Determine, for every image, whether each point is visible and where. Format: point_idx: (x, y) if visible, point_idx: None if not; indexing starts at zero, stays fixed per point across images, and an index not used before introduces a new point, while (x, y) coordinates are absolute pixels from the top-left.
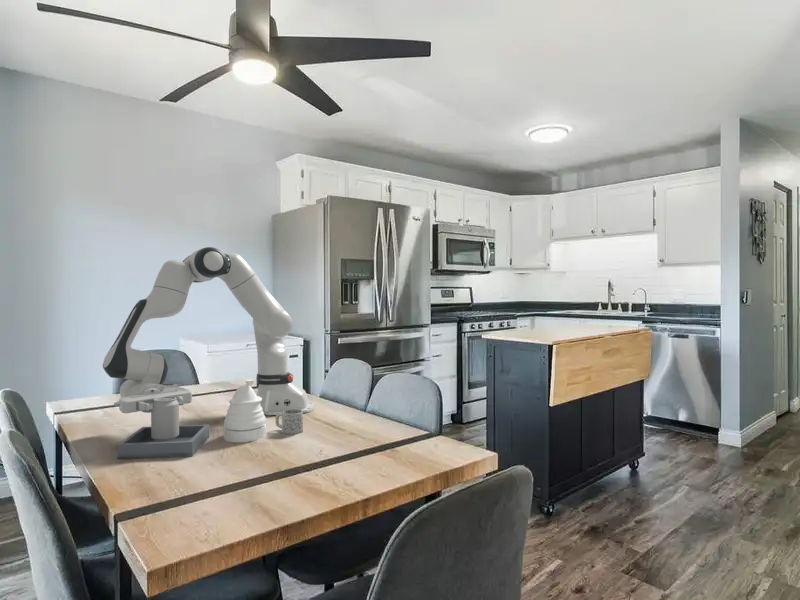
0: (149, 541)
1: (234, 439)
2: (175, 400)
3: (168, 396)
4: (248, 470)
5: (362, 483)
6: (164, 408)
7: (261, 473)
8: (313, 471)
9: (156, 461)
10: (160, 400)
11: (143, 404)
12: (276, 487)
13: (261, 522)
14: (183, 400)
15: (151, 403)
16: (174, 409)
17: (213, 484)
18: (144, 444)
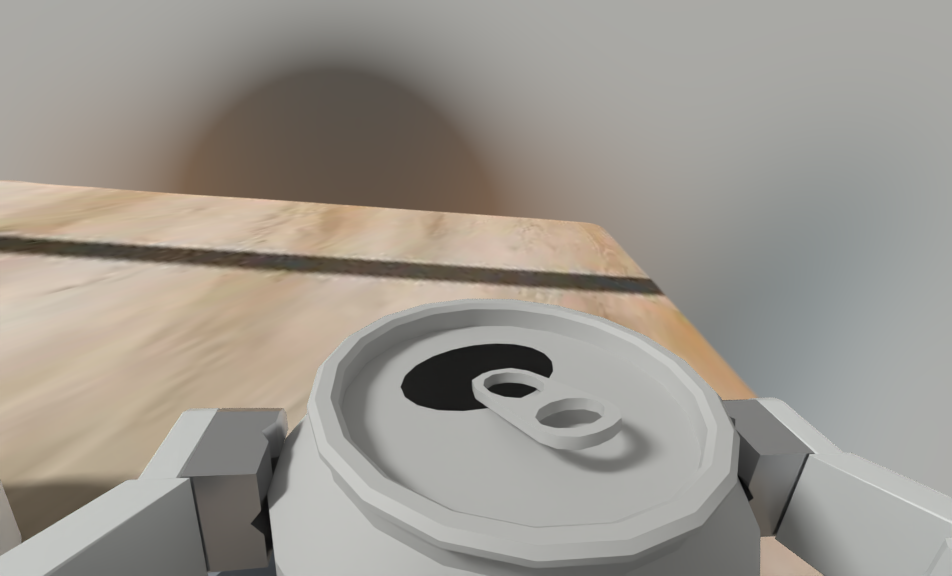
0: (600, 242)
1: (17, 537)
2: (376, 354)
3: (398, 487)
4: (339, 299)
5: (254, 211)
6: (543, 373)
7: (331, 280)
8: (248, 248)
9: None
10: (596, 418)
11: (886, 483)
12: (365, 246)
13: (456, 219)
14: (200, 418)
15: (735, 423)
16: (423, 400)
17: (456, 291)
18: None
